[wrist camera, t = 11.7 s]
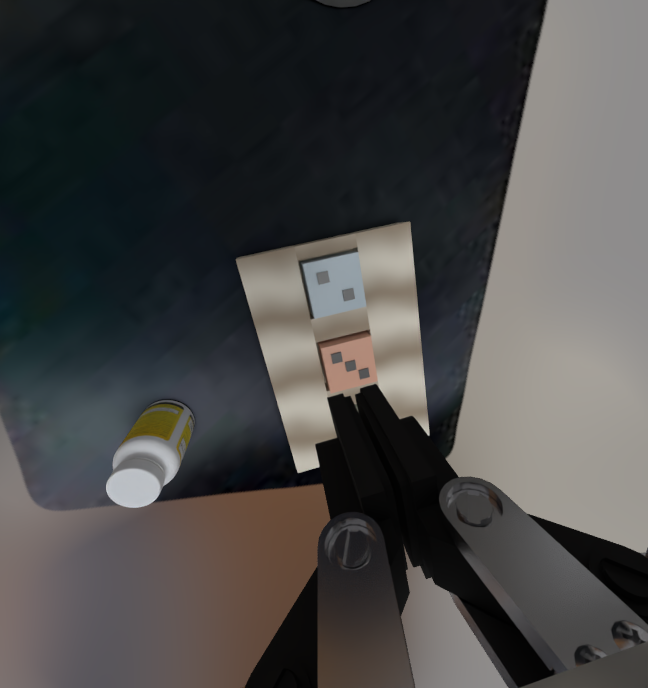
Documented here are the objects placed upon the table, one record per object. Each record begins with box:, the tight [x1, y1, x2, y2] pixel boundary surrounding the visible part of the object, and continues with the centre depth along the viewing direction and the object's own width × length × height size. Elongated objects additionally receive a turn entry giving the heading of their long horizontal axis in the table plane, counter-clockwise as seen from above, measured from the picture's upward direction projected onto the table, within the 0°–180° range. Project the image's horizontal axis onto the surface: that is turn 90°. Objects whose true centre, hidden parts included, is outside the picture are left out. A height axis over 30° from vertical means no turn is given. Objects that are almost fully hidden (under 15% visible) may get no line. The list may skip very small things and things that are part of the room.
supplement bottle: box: [106, 400, 195, 508], centre depth 29 cm, size 5×5×10 cm
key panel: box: [236, 222, 429, 473], centre depth 33 cm, size 24×16×3 cm, turn 11°
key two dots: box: [300, 250, 366, 319], centre depth 29 cm, size 5×5×3 cm
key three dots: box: [317, 331, 378, 393], centre depth 32 cm, size 5×5×3 cm
